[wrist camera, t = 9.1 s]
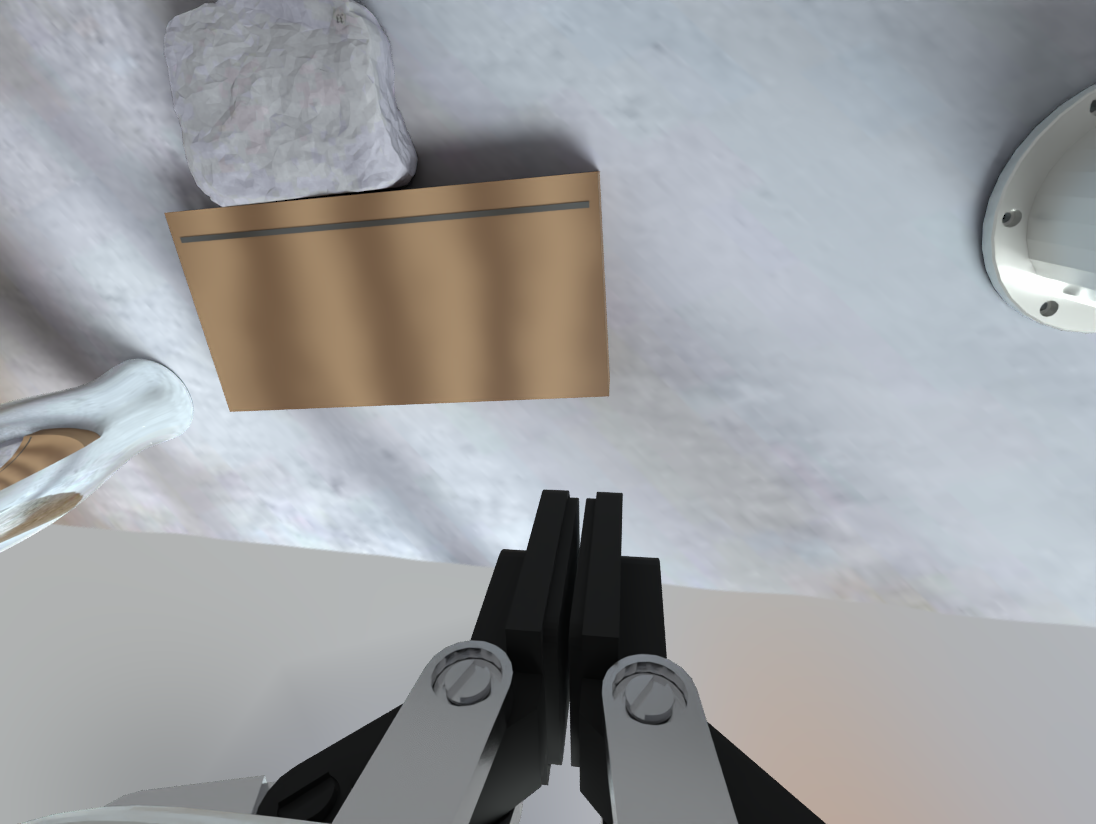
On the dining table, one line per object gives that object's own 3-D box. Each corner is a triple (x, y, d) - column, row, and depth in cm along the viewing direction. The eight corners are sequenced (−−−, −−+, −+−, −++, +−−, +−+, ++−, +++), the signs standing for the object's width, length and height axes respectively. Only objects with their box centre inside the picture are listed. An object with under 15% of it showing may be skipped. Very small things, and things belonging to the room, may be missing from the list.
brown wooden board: (599, 171, 31) (597, 171, 28) (609, 378, 36) (609, 396, 33) (200, 209, 34) (163, 213, 31) (257, 394, 39) (229, 412, 36)
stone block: (203, 39, 32) (238, 221, 34) (135, -4, 28) (180, 209, 30) (402, 5, 31) (428, 196, 33) (366, -47, 26) (399, 180, 28)
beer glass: (126, 444, 42) (-113, 579, 28) (90, 353, 39) (-194, 453, 25) (213, 442, 41) (9, 581, 27) (182, 349, 38) (-62, 452, 25)
